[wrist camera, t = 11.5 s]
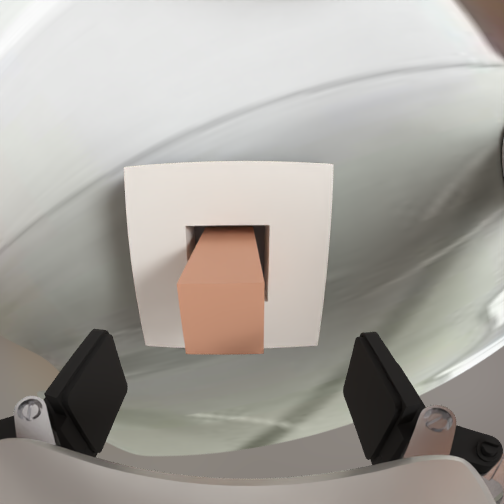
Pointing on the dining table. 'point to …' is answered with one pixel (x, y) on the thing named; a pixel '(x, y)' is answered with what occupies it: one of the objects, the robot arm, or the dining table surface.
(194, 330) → the peg
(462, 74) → the dining table surface
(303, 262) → the socket block
